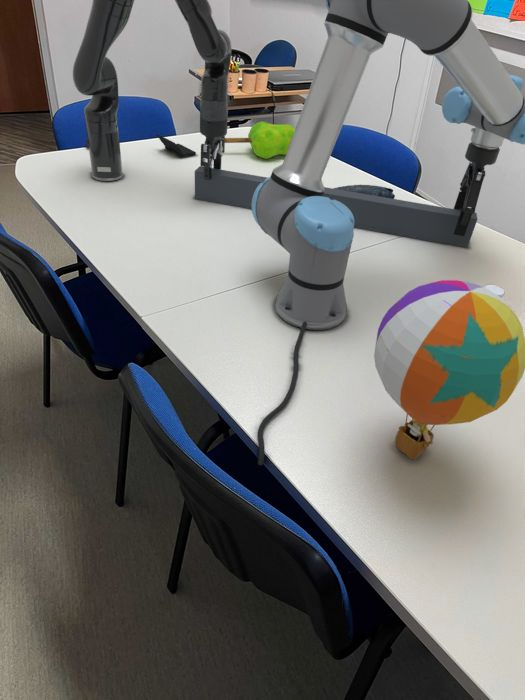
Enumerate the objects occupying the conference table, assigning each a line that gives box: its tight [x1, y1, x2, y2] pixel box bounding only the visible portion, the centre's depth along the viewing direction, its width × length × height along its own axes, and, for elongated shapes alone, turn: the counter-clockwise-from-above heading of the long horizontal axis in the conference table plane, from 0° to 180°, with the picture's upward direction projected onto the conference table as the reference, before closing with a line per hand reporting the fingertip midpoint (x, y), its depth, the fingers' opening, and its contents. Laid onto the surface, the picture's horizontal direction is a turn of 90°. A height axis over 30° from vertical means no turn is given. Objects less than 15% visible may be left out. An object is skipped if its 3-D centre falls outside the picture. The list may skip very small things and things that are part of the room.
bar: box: [194, 165, 478, 248], centre depth 148 cm, size 79×4×8 cm, turn 75°
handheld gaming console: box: [156, 133, 197, 158], centre depth 183 cm, size 12×7×10 cm
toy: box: [373, 279, 525, 460], centre depth 74 cm, size 20×20×30 cm
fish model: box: [332, 184, 396, 199], centre depth 161 cm, size 7×21×5 cm, turn 84°
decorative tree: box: [225, 121, 295, 160], centre depth 186 cm, size 18×10×30 cm
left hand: (212, 174), depth 151 cm, fingers open, 8 cm apart
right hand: (457, 224), depth 141 cm, fingers open, 13 cm apart
